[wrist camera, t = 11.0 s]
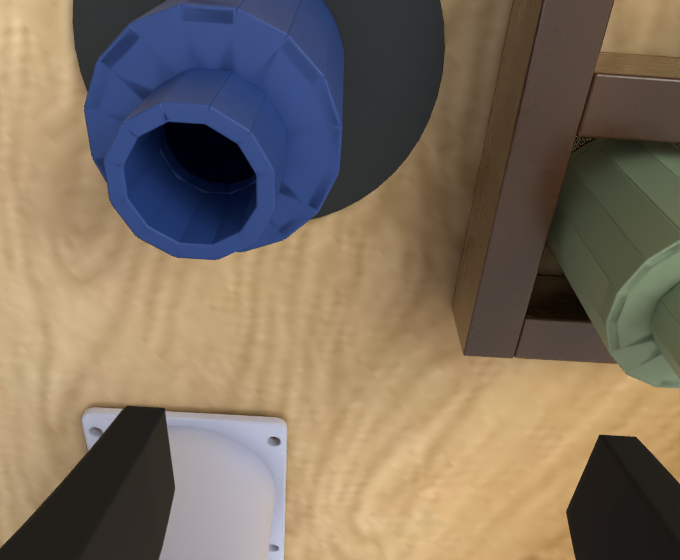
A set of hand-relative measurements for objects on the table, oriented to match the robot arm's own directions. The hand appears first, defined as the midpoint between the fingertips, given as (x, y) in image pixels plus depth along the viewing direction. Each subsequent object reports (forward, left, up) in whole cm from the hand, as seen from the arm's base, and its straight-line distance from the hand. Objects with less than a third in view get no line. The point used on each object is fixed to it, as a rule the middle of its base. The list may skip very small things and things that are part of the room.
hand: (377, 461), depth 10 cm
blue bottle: (+4, +3, -10) cm, 11 cm away
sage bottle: (0, -8, -10) cm, 13 cm away
